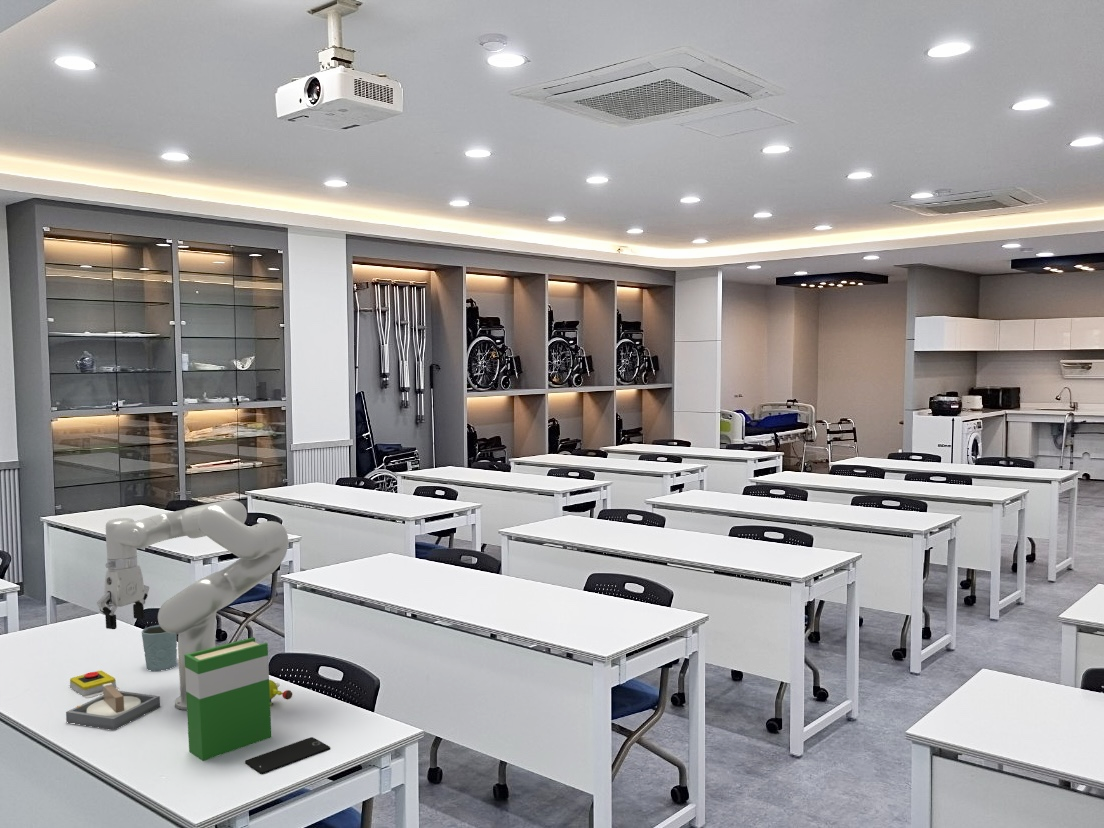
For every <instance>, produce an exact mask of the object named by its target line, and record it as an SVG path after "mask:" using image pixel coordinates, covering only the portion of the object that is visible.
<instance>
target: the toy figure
mask: <svg viewBox="0 0 1104 828" xmlns="http://www.w3.org/2000/svg"><path fill="white" fill-rule="evenodd" d="M280 686H281V684H280V683H279V682H275V681H274V680H271V679H269V689H270V707H271V706H273V705H274V704H275V703H274V702H272V699H274V698H275V697H276V696H277V695H278V696H281V695H282V698H283V699H284V700H290V699H292V698H293V692H292V691H291V690H289V689H287V690H283V692H282V690H279V687H280Z"/></svg>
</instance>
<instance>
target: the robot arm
mask: <svg viewBox="0 0 1104 828" xmlns="http://www.w3.org/2000/svg"><path fill="white" fill-rule="evenodd" d="M247 517H248V511H247V509H246V507H245V506H244V504H243V503H242V502H241V501H238V500H235V499H226V500H222V501H217V502H211V503H207V504H201V505H197V506H196V505H195V506H192V507H187V508H185V509H180V510H176V511H171V512H165V513H161V514H156V515H152V516H149V517H146V518H142V519H139V520H134V519H133V518H129V517H119V518H113V519H111V520H108V521H107V522H106V524H105V541H106V558H107V559H106V561H107V562H106V563H105V568H106V569H107V570H106V571H105V576H104V577H105V579H104V595H103V596H102V597H101V598H100V599H99V600H98V601H97V602H96V605H97V607H98V609H99V612H101V613H102V614H103V615H104V616H105V628H106V629H107V630H115V629H117V625H118V624H117V615H116V614H115V613H116V611H117V609H118V608H119V607H120V608H121V607H124V606H125V607H126V606H128V605H131V604H132V609H133V613H132V614H133V619H135V620H136V619H137V620H143V619H145V614H144V613H145V611H144V610H145V609H144V605H145V604H146V600H147V598H148V594H149V591H150V586H149V585H145V584H144V579H143V578H144V577H143V571H142V569H141V566H140V564H138V553H137V549H143V548H147V547H149V546H152V545H154V544H157V543H160V542H163V541H166V540H168V541H169V540H172V539H178V538H181V537H182V538H183V537H187V538H190V539H198V538H203V537H208V538H209V539H210V540H211V541H213V542H214V543H216V544H217V545H218V546H221V547H222V548H224V549H225V550H226V551H228V552H230V553H231V554H233V555H234V556H236V557H238V558H237V560H236V561H234V562H232V563H231V564H229V565H228V566H226V567H224V568H223V569H221V570H219V571H215V572H213V573H211V574H209V575H206V576H204V577H202V578H199V579H198V580H197V581H195V582H193V583H191V584H189V585H188V586H186V587H184V589H181V590H180V592H178V593H176V594H174V595H173V596H172V597H169V599H167V600H166V601H165V602H163V603H162V604H161V606H160V607H159V609H158V613H157V621H158V625H160V627H161V628H162V629H163V630H164V631H166V632H168V633H172V634H177V635H178V636H177V651H178V652H177V655H178V670H179V671H178V673H179V691H180V692H179V695H180V696H178V697H176V698H175V700H174V707H175V708H176V709H178V710H181V711H182V710H184V711H187V697H186V677H185V657H184V655H186V654H190V653H193V652H197V651H201V650H205V649H209V648H213V647H216V637H215V636H216V634H215V633H216V618H217V612H218V611H220V610H221V609H224V608H226V607H228V606H229V605H230V604H232V603H233V602H235V600H237V599H238V598H240V597H241V596H242V595H244V594H245V593H247V592H248V591H250V590H251V589H252V588H254V587H256V586H257V585H258V584H260V583H261V582H262V581H264V580H266V579H267V578H269V576H271V575H272V574H273V573H274V572H275V571H276V570H277V569H278V568H279V567H280V565H281V564H282V562H283V561H284V559H285V558H286V555H287V552H288V548H289V535H288V531H287V530H286V527H284V525H283V524H282V523H280V522H277V521H272V520H271V521H270V520H268V521H262V522H259V523H256V524H253V525H252V526H248V525H246V524H245V522H246V520H247Z"/></svg>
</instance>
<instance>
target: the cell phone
mask: <svg viewBox="0 0 1104 828" xmlns="http://www.w3.org/2000/svg"><path fill="white" fill-rule="evenodd" d="M330 750H331V746H329V745H328V744H326V743H324V742H322V741H320V740H319V739H317V738H316V737H313V736H311V737H307V738H304V739H302V740H298V741H296V742H293V743H291V744H287V745H284V746H282V747H278V748H276V749H273V750H271V751H268V752H265V753H262V754H259V755H257V756H253V757H250V758H248V759H246V760H245V761H244V764H245V765H246V766H248V767H249V768H251V769H252V770H253V771H255V772H256V773H258V774H260V775H265V774H268V773H271V772H273V771H276V770H279V769H281V768H284V767H287V766H290V765H292V764H296V763H297V762H300V761H303V760H305V759H308V758H311V757H314V756H317V755H319V754H323V753H325V752H327V751H330Z"/></svg>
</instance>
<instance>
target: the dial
mask: <svg viewBox="0 0 1104 828" xmlns="http://www.w3.org/2000/svg"><path fill="white" fill-rule="evenodd" d="M119 691H120V690H117V689H116V688H115V687H114V686H113V685H112V683H108V684H104V685H103V694H102V695H104V700H101V701H98V702H96V703H94V704H92V705H90V706H89V707H88V708H87V713H89V714H96V715H103V716H110V717H115V716H117V715H119V714H121V713H123V712H125V711H127V710H129V709H131V708H133V707H135V706H137V705H139V704H141V701H140V699H139V698H137V697H133V696H123V695H122V694H121V693H120V692H119Z"/></svg>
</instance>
